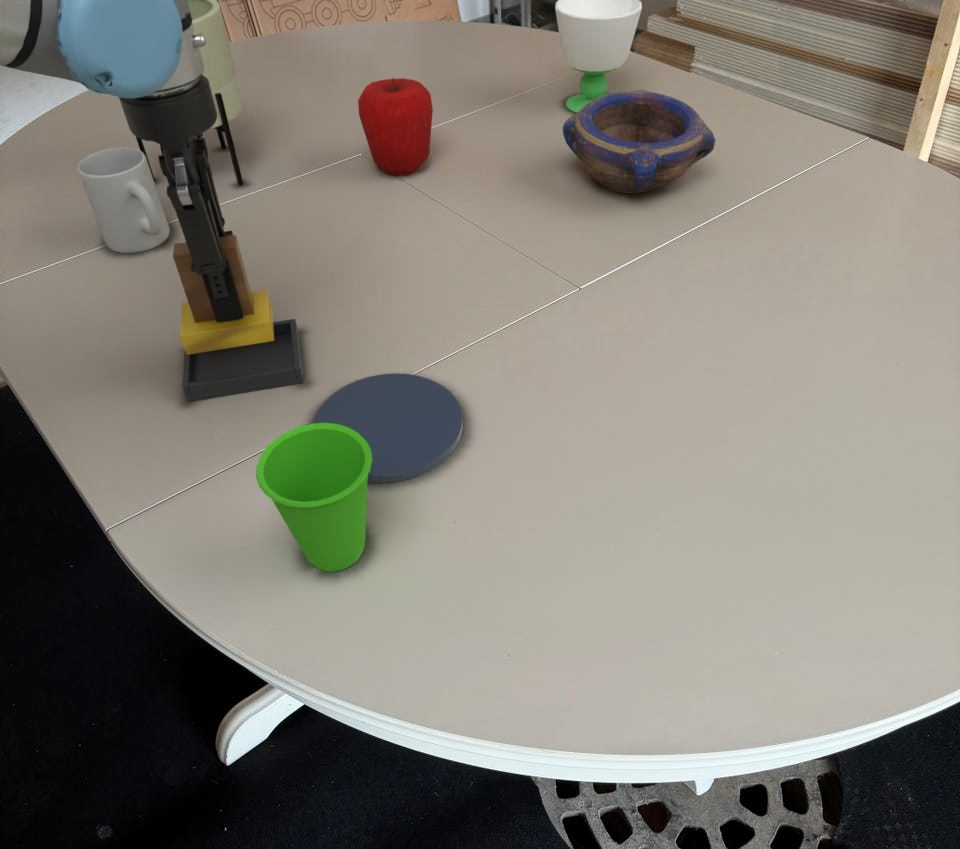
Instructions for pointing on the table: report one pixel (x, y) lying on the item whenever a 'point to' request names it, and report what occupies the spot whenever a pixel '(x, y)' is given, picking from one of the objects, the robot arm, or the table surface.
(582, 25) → the cup
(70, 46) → the robot arm
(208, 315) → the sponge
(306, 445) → the cup
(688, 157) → the bowl
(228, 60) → the planter
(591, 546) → the table surface
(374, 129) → the apple
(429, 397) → the plate
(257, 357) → the dish
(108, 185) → the mug
